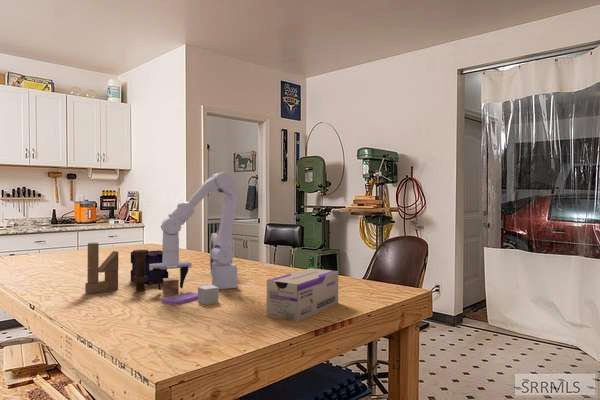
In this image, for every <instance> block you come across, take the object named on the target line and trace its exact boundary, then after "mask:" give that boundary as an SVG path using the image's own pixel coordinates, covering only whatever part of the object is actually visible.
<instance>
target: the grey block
mask: <svg viewBox="0 0 600 400" xmlns="http://www.w3.org/2000/svg"><path fill="white" fill-rule="evenodd" d="M219 290H220V289H219V288H218V287H216V286H213V285H211V284H209V285H203V286H202V285H201V286H197V293H198V299H197V302H198V303H200V304H201V305H204V306H206V305H211V304H212V305H213V304H217V303H219V295H220V293H219V292H220V291H219Z"/></svg>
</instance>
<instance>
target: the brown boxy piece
mask: <svg viewBox="0 0 600 400" xmlns="http://www.w3.org/2000/svg"><path fill="white" fill-rule="evenodd" d="M179 288H180V280H179V278H178V277H168V278H163V283H162V293H163V296H164V295H165V296H166V295H180V294H179V292H180V290H179Z"/></svg>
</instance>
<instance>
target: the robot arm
mask: <svg viewBox="0 0 600 400" xmlns="http://www.w3.org/2000/svg"><path fill="white" fill-rule="evenodd" d="M235 184H236V183H235V179H234V178H233V176H232V175H231V174H230V173H229V172H226V171H222V172H217V173H213V174H212V175H211V176H210V177H209V178H207V179H206V180H205V181H204V182H203V183H202V185H200V187H199V188H198V189H197V190H196V192H194V194H193V195H192V196H191V197H190V198H189V200H188V201H183V202H181V203H180V202H179V203H177V205H176V208H175V209H174V210H173V212H172V213H169V214H168V217H167V218H164V219H163V221H161V225H160V229H161V231H162V250H161V251H163V260H162V263H156V264H149V270H153V272H154V274H155V277H156V279H157V283H158V284H157V283H156V284H157V287H158V288H157V289H158V290H159V291H161V290H162V283H161V272H160V269H167V270H169V269H179V278H180V280H179V288H180V289H184V283H185V280H186V276H187V275H188V272H189V271H190V269H191V268H193V267H192V261H180V238H179V234H180V233H179V232H181V230H182V226H183V225H184V224H185V223H187V221H188V220H189V219H190V218H191V217H192V216H193V215H194V214H195V208H196V206H197V205H198V204H199V203H201V201H203V199H204V198H205V197H206V196H208V194H210V193H212V192H216V191H217V192H219V194H220V195H221V196H222V198H223V203H222V209H221V215H220V220H219V226H218V230H217V231H218V237H217V239H216V241H215V243H214V247H213V248H212V250H211V252H210V251H209V257H210V256H211V258H212V260H213V262H212V275H211V284H210V285H213V286H216V287H218V288H219V290H226V289H238V287H239V286H238V266H237V264H236V263H232V264H231V261H232V262H233V259H234V252H233V244H232V235H233V230H234V229H233V228H234V224H235V219H236V211H237V206H238V200H239V193H238V190H237V187H236V185H235ZM162 267H163V268H162Z"/></svg>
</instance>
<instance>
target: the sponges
mask: <svg viewBox="0 0 600 400" xmlns="http://www.w3.org/2000/svg"><path fill="white" fill-rule="evenodd" d="M196 300H197V301H198V292H192V291H191V292H190V291H189V292H188V291H187V292H185V293H181V294H174V295H171V296H166V297H163V298H161V303H163V304H169V305H174V306H179V305H182V304H186V303H189V302H193V301H196Z"/></svg>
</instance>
